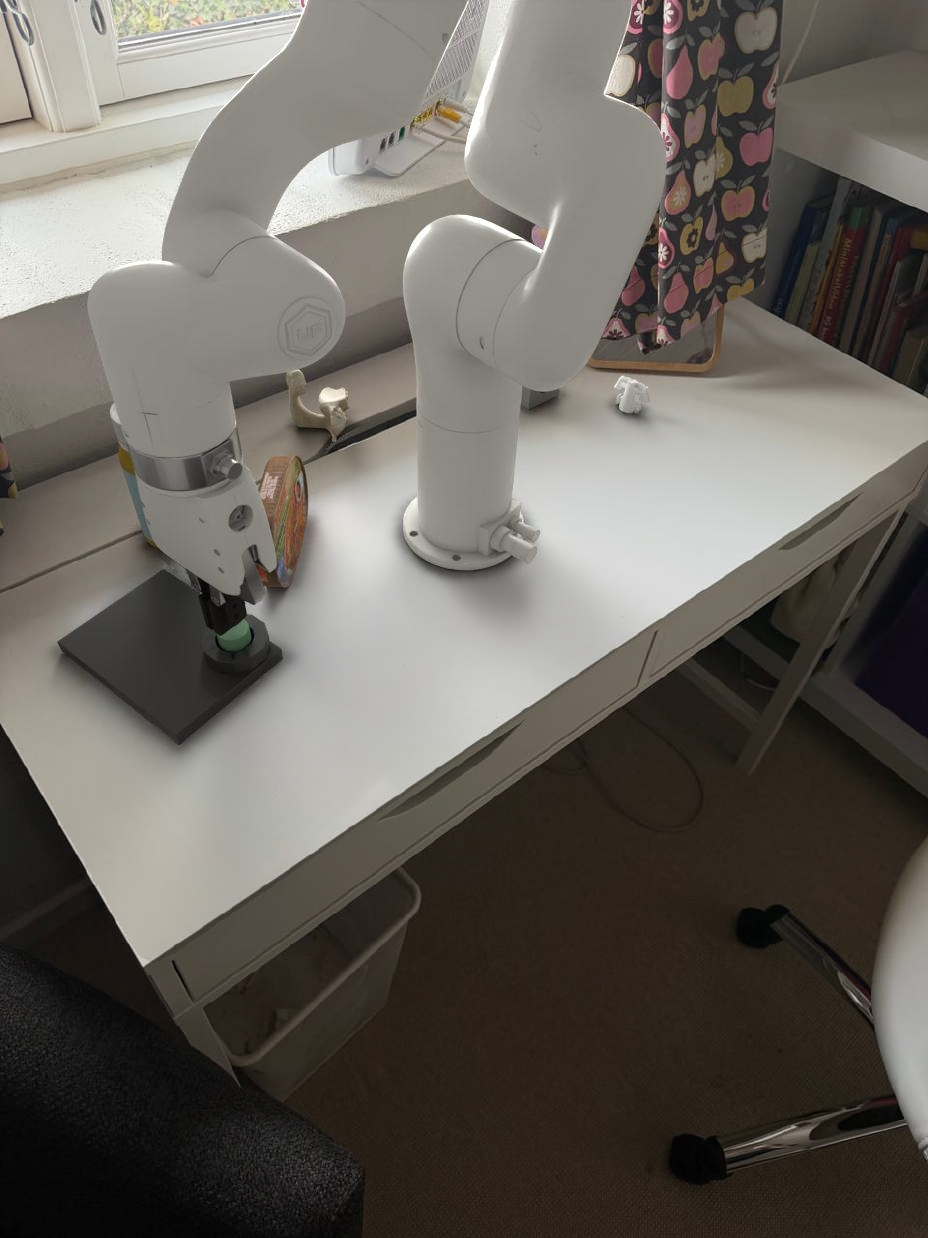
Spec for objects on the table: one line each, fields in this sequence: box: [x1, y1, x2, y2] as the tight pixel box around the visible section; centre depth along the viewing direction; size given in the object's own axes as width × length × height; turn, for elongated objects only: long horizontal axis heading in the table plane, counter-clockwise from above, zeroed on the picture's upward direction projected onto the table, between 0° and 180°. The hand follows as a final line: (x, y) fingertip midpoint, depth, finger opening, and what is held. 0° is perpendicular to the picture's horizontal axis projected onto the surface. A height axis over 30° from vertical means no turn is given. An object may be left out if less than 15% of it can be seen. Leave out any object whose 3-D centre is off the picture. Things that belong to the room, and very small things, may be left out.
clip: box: [613, 375, 651, 414], centre depth 106 cm, size 5×2×4 cm, turn 50°
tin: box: [256, 454, 309, 589], centre depth 86 cm, size 15×3×8 cm, turn 177°
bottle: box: [109, 402, 159, 549], centre depth 85 cm, size 7×7×15 cm
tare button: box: [216, 619, 251, 652], centre depth 77 cm, size 3×3×2 cm
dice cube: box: [521, 386, 560, 410], centre depth 107 cm, size 5×5×5 cm
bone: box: [285, 369, 350, 444], centre depth 100 cm, size 9×6×10 cm
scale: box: [56, 568, 284, 745], centre depth 78 cm, size 16×12×3 cm
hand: (227, 621), depth 75 cm, fingers closed
